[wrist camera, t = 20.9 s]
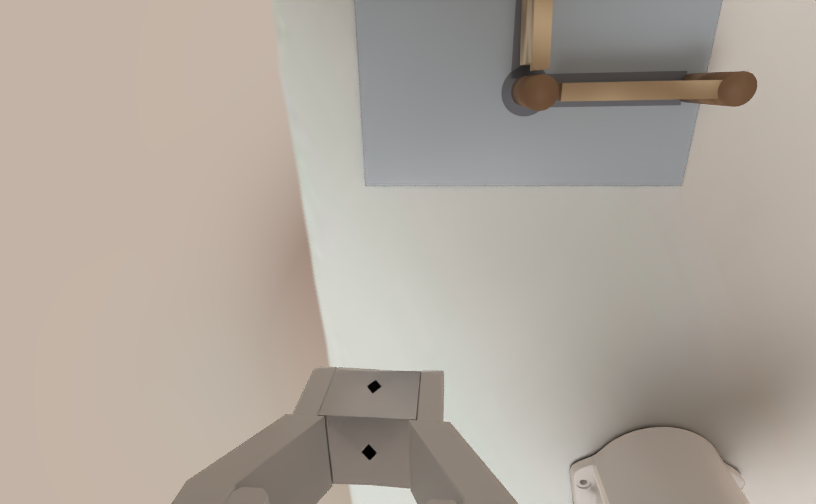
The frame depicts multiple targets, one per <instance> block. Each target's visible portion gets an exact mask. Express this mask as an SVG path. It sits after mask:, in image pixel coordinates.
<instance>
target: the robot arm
mask: <svg viewBox="0 0 816 504" xmlns="http://www.w3.org/2000/svg"><path fill="white" fill-rule="evenodd" d="M443 412H444V372H443V371H422V372H421V371H393V370H376V369H360V368H343V367H338V368H337V367H319V366H317V367H316V368H315V369H314V370H313V372H312V374H311V376H310V378H309V380H308V382H307V384H306V386H305V389H304V391H303V393H302V395H301V397H300V399H299V401H298V403H297V405H296V407H295V410H294V412H293V414H285V415H284V416H283V417H281V418H280V419H278V420H277V421H275V422H274V423H272V424H271V425H269V426H268V427H266V428H265V429H263V430H262V431H260V432H259V433H257V434H256V435H254V436H253V437H251V438H250V439H248V440H247V441H245V442H244V443H242V444H241V445H239V446H238V447H236V448H235V449H233V450H232V451H230V452H229V453H227V454H226V455H225V456H223V457H221V458H220V459H219V460H217V461H216V462H214V463H213V464H211V465H210V466H208V467H207V468H205V469H204V470H202V471H201V472H199V473H198V474H196V475H195V476H193V477H192V478H190V479H189V480H187V481H186V482H185V484H184V486H183V487H182V489H181V490H180V492H179V493H178V495H177V496H176V498H175V499H174V501H173V502H172V504H317V502H318V501H319V500H320V499H321V498H322V497H323V496H324V495H325V494H326V493H327V491H328V490H329V489H330V488H331V487H332V484H358V485H377V486H388V487H399V488H410V489H411V492H412V494H413V496H414V498H415V500H416V502H417V504H518V503H517V501H516V500H515V499H514V498H513V497H512V496H511V494H510V493H509V492H508V491H507V490H506V488H505V487H504V486H503V485H502V484H501V482H500V481H499V480H498V479H497V478H496V476H495V475H494V474H493V473H492V472H491V470H490V469H489V468H488V467H487V466H486V464H485V463H484V462H483V461H482V460H481V459H480V457H479V456H478V455H477V454H476V453H475V451H474V450H473V449H472V448H471V447H470V445H469V444H468V443H467V442H466V441H465V439H464V438H463V437H462V436H461V435H460V433H459V432H458V431H457V430H456V429H455V427H454V426H453V425H452V424H451V423H450V422H443ZM570 476H571V485H572V494H573V503H574V504H750V503H749V501H748V499H747V498H746V496H745V494H744V493H743V491H742V489H743V487H744V485H745V482H744V480H743V478H742V477H741V475H740V473H739V472H738V471H737V470H735V469H734V468H732V467H731V466H729V465H727V464H726V463H724V462H723V460H722V459H721V458H720V456H719V454H718V452H717V450H716V449H715V448H714V446H713V445H712V444H711V443H710V442H709V441H707V440H706V439H705V438H703V437H702V436H700V435H698V434H696V433H693V432H691V431H688V430H684V429H680V428H673V427H651V428H645V429H640V430H636V431H633V432H630V433H627V434H625V435H622V436H620V437H618V438H617V439H615V440H613V441H612V442H610V443H609V444H607V445H606V446H605V447H604V448H603V449H601V450H600V451H599V452H598V453H597V454H595V455H593V456H591V457H588V458H586V459H583V460H581V461H578V462H576V463H575V464H573V465H572V466H571V468H570Z"/></svg>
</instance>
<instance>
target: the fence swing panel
mask: <svg viewBox="0 0 816 504" xmlns="http://www.w3.org/2000/svg"><path fill="white" fill-rule="evenodd" d="M552 14H553V0H522V5H521V43H520V65H530V71H533V70H547V69H550V54H551V34H552Z"/></svg>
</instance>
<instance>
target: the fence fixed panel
mask: <svg viewBox="0 0 816 504" xmlns="http://www.w3.org/2000/svg"><path fill="white" fill-rule="evenodd" d="M756 89H757V80H756V78H755V76H754V75H753V74H751V73H749V72H745V71H741V72H714V73H691V74H688V75H686V76H684V77H683V78H682V79H681V80H672V81H624V82H577V83H557V82H556V81H555V79H554V78H553V77H551V76H549V75H545V74H541V75H529V76H523V77H520V78H519V79H517V80H516V81H515V83H514V84H513V86H512V90H511V95H512V99H513V100H514V102H515V103H516V104H518V105H519V106H522V107H526V108H529V109H532V110H535V111H543V110H546V109H548V108H550V107H551V106H552V105H553V104H554V103H555V102H556V100H558V101H616V100H674V99H679V100H681V101H682V102H686V103H698V104H710V105H722V106H740V105H743V104H745V103H746V102H748V101H749V100H750V99H751V98H752V97H753V95H754V94H755V92H756Z"/></svg>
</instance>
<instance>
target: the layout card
mask: <svg viewBox="0 0 816 504" xmlns="http://www.w3.org/2000/svg"><path fill="white" fill-rule="evenodd" d="M722 1H723V0H553V14H552V34H551V54H550V69H547V70H533V71H530V65H520V43H521V5H522V0H355V15H356V32H357V49H358V67H359V84H360V101H361V119H362V136H363V153H364V170H365V186H682V182H683V177H684V173H685V168H686V164H687V159H688V155H689V150H690V146H691V141H692V137H693V132H694V127H695V123H696V118H697V114H698V109H699V105H700V104H698V103H686V102H682V101H681V100H679V99H674V100H616V101H558V100H556V102H555V103H554V104H553V105H552V106H551V107H550V108H548V109H546V110H543V111H535V110H532V109H529V108H526V107H522V106H519V105H518V104H516V103H515V102H514V100H513V99H512V95H511V90H512V86H513V84H514V83H515V81H516V80H517V79H519V78H520V77H523V76H529V75H541V74H545V75H549V76H551V77H553V78H554V79H555V81H556V82H557V83H577V82H624V81H672V80H681V79H682V78H683V77H684V76H686V75H688V74H691V73H707V69H708V64H709V59H710V55H711V50H712V46H713V41H714V37H715V32H716V28H717V23H718V19H719V14H720V10H721V5H722Z"/></svg>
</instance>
